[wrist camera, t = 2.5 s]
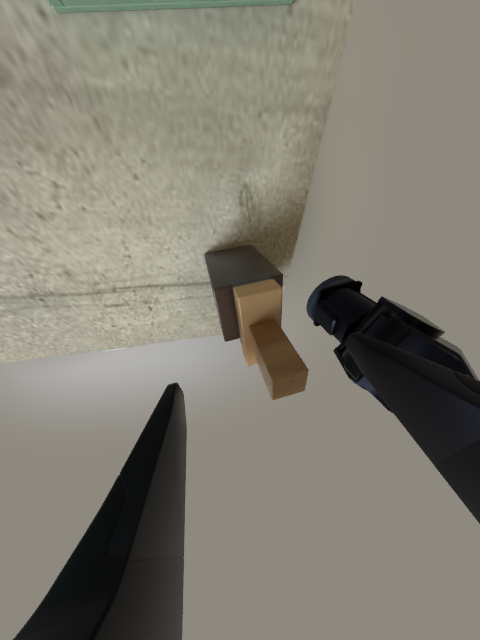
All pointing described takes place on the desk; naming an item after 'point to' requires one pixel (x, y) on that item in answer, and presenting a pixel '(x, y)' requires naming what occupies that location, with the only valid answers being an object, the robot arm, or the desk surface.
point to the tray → (151, 4)
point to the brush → (267, 335)
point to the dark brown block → (232, 267)
